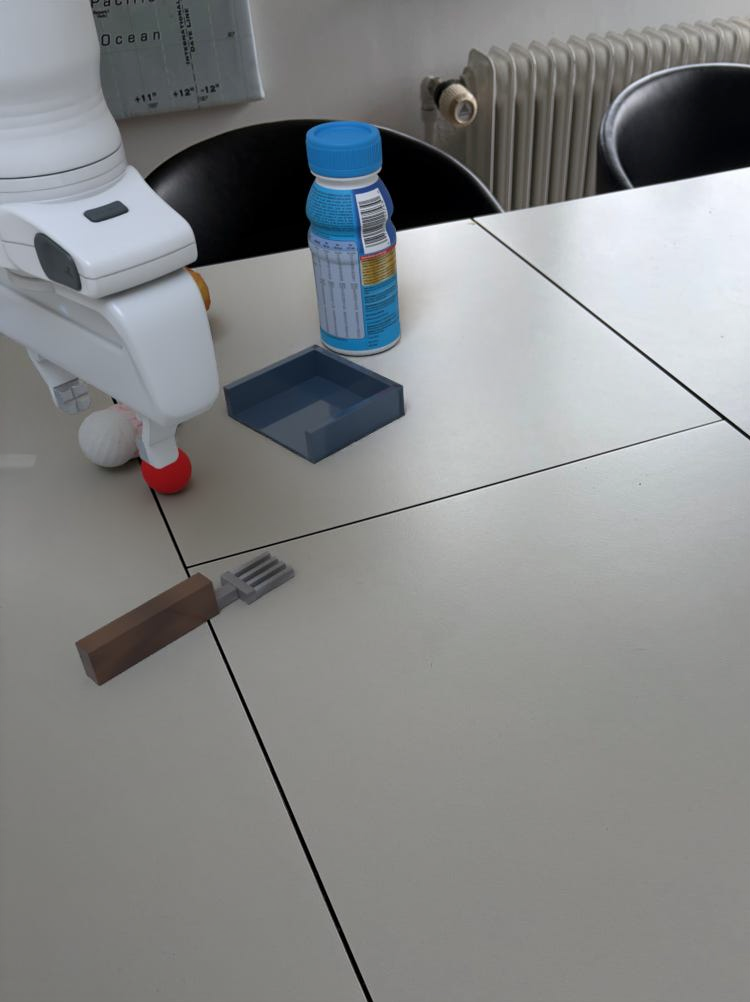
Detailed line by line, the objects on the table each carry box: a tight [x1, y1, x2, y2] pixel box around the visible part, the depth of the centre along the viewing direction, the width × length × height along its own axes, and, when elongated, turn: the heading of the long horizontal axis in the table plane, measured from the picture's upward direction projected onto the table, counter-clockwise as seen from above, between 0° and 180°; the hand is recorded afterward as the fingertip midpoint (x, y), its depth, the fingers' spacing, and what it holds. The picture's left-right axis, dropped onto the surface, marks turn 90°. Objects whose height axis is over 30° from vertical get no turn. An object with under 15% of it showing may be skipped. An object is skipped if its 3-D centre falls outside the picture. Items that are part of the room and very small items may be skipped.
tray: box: [222, 343, 406, 465], centre depth 95 cm, size 12×11×3 cm
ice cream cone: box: [77, 402, 143, 468], centre depth 91 cm, size 5×5×15 cm
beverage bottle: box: [305, 120, 402, 357], centre depth 100 cm, size 8×8×20 cm
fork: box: [74, 550, 295, 686], centre depth 74 cm, size 16×3×3 cm, turn 137°
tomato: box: [140, 446, 193, 494], centre depth 85 cm, size 4×4×4 cm
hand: (116, 433), depth 65 cm, fingers open, 8 cm apart
